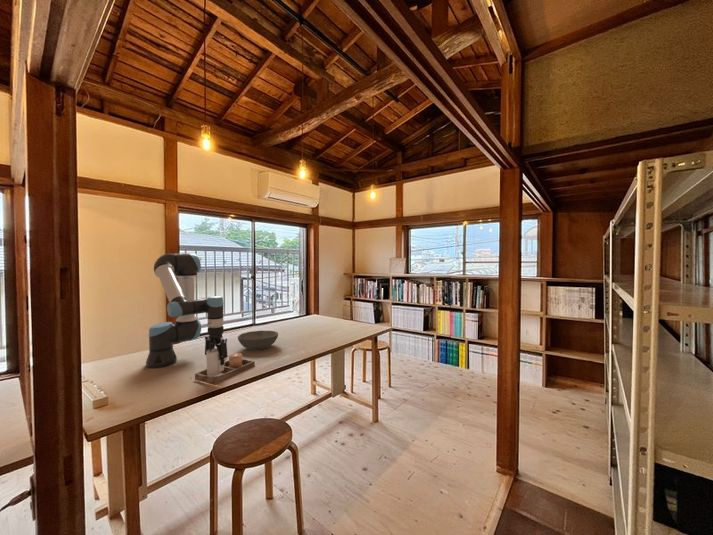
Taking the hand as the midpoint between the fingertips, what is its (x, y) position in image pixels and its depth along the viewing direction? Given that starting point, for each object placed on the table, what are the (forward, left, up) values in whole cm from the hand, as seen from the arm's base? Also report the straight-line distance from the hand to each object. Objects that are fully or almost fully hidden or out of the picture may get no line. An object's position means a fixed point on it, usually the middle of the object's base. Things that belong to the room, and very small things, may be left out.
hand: (216, 369), depth 153 cm
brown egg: (0, +13, -3) cm, 13 cm away
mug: (0, 0, -2) cm, 2 cm away
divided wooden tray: (0, +6, -4) cm, 7 cm away
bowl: (-14, +46, -4) cm, 48 cm away
